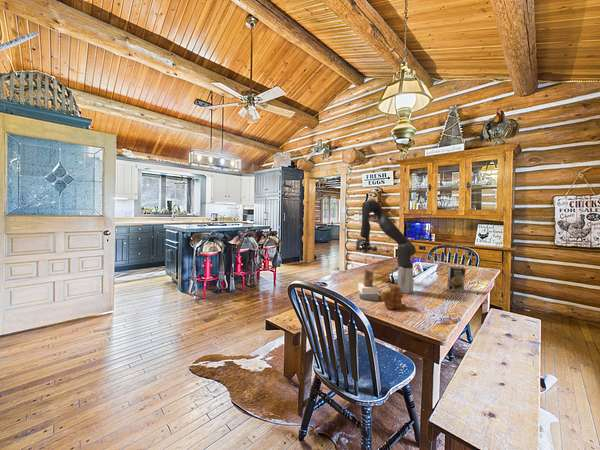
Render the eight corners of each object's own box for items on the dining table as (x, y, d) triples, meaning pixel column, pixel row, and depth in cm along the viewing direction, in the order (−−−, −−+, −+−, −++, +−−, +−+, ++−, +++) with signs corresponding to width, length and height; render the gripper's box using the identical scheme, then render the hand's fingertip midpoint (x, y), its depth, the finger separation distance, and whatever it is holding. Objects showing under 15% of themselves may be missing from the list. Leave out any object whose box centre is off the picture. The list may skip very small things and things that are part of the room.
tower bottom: (375, 295, 170) (375, 289, 169) (377, 301, 159) (378, 295, 159) (358, 294, 171) (358, 288, 171) (359, 300, 160) (359, 294, 160)
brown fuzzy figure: (407, 307, 148) (408, 285, 147) (391, 313, 141) (392, 289, 140) (393, 302, 157) (394, 281, 156) (377, 306, 149) (378, 284, 148)
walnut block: (371, 284, 167) (371, 269, 166) (372, 286, 162) (373, 271, 161) (363, 284, 167) (363, 269, 166) (364, 286, 162) (365, 271, 161)
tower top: (373, 289, 170) (373, 283, 169) (378, 294, 160) (378, 288, 159) (358, 289, 170) (358, 283, 169) (362, 294, 160) (362, 288, 159)
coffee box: (449, 291, 177) (450, 268, 176) (446, 288, 184) (448, 266, 182) (464, 292, 175) (465, 269, 173) (461, 289, 181) (462, 267, 180)
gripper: (355, 241, 190) (356, 244, 174) (375, 241, 188) (378, 244, 172) (355, 251, 191) (356, 255, 175) (374, 251, 189) (378, 255, 173)
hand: (367, 250), depth 174 cm, fingers open, 8 cm apart
